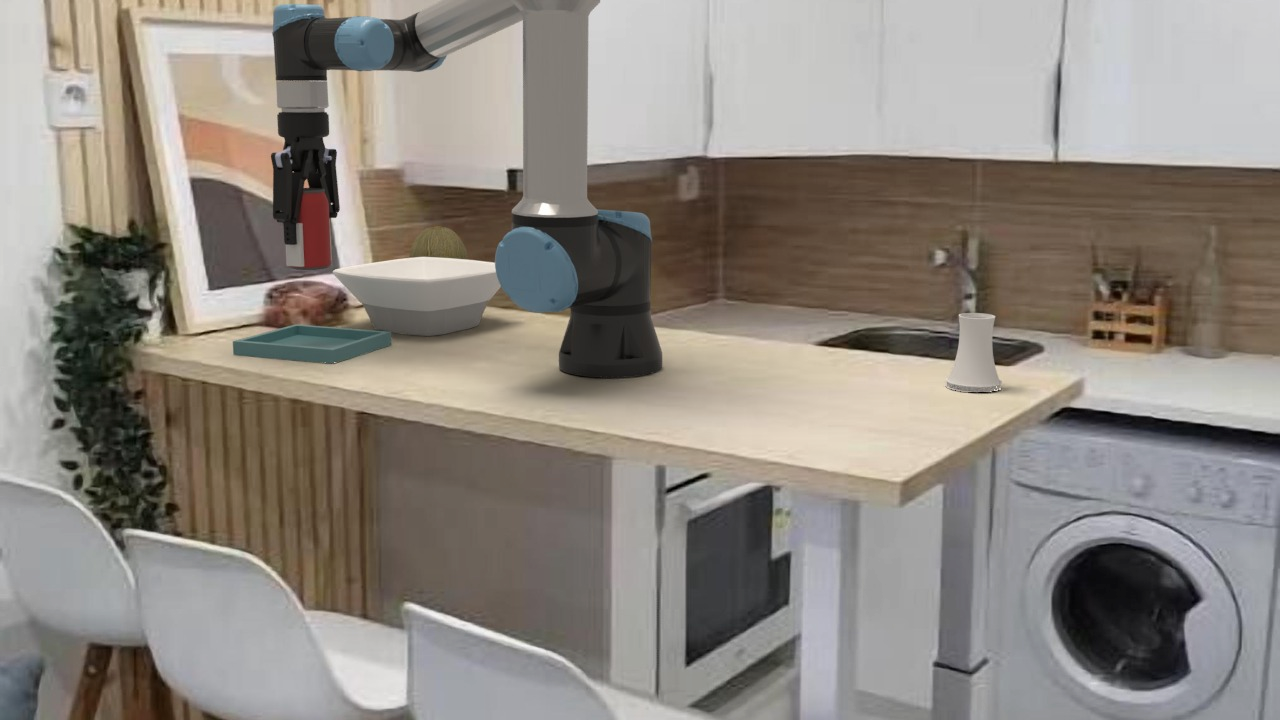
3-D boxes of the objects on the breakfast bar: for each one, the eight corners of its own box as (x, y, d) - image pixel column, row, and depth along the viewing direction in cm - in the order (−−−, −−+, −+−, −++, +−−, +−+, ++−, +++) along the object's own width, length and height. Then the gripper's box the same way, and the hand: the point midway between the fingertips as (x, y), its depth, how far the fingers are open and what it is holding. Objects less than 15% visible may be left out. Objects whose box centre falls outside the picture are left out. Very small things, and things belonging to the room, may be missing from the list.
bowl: (321, 331, 231) (318, 270, 229) (425, 310, 251) (424, 254, 249) (427, 346, 217) (425, 282, 215) (529, 324, 237) (528, 265, 235)
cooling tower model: (987, 380, 194) (991, 310, 192) (1010, 392, 186) (1015, 319, 184) (936, 382, 192) (940, 311, 190) (958, 394, 185) (961, 321, 183)
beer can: (320, 271, 208) (317, 191, 206) (279, 269, 209) (276, 190, 207) (338, 265, 214) (335, 188, 212) (298, 264, 216) (295, 187, 213)
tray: (391, 344, 218) (390, 331, 218) (333, 363, 204) (332, 349, 204) (296, 336, 225) (295, 324, 225) (233, 354, 210) (232, 341, 210)
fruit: (483, 305, 256) (481, 225, 253) (438, 313, 248) (436, 230, 245) (440, 299, 263) (438, 221, 260) (396, 306, 255) (393, 225, 252)
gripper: (319, 108, 217) (325, 254, 222) (241, 111, 200) (249, 269, 204) (360, 109, 215) (365, 256, 219) (284, 112, 197) (291, 272, 202)
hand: (309, 262), depth 212 cm, fingers closed on beer can, 6 cm apart
